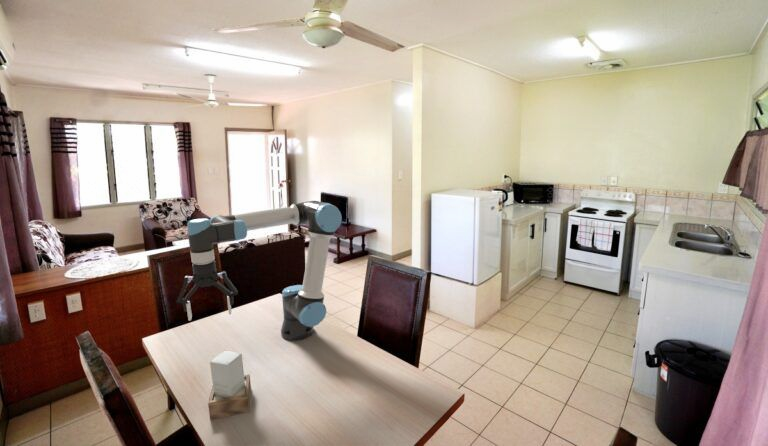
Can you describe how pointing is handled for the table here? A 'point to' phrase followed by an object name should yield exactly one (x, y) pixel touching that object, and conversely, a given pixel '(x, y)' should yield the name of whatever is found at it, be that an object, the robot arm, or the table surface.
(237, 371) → the supplement box
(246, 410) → the brown square open box
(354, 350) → the table surface
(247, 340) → the table surface
